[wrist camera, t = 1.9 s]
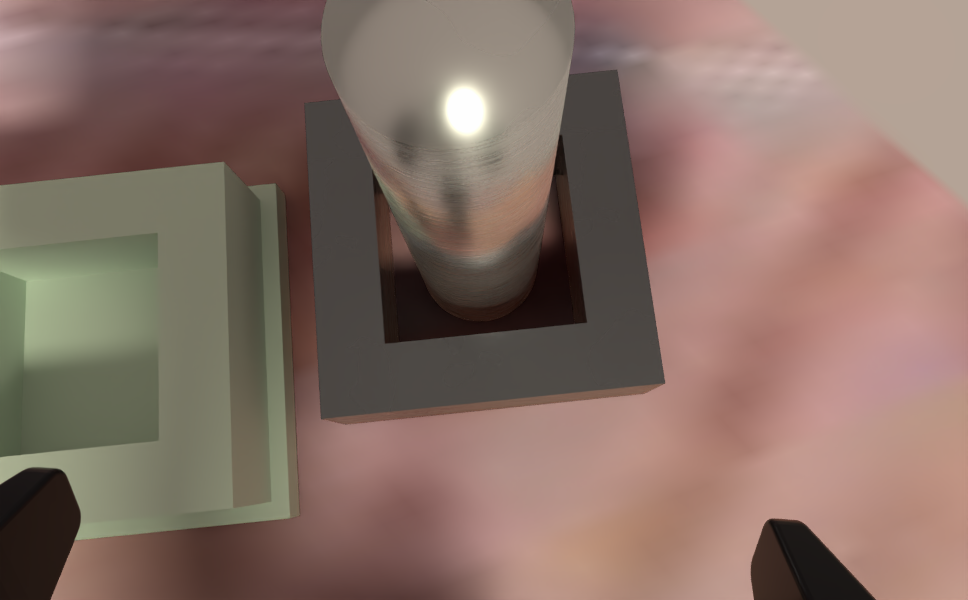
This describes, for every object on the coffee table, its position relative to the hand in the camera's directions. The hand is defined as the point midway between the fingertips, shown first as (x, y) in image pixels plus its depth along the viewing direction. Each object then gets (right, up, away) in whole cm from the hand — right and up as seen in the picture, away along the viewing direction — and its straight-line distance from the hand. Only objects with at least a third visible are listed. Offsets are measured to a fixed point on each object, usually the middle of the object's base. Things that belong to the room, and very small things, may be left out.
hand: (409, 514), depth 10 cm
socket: (+1, +4, +14) cm, 14 cm away
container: (-10, +1, +13) cm, 17 cm away
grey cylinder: (+1, +4, +14) cm, 14 cm away
